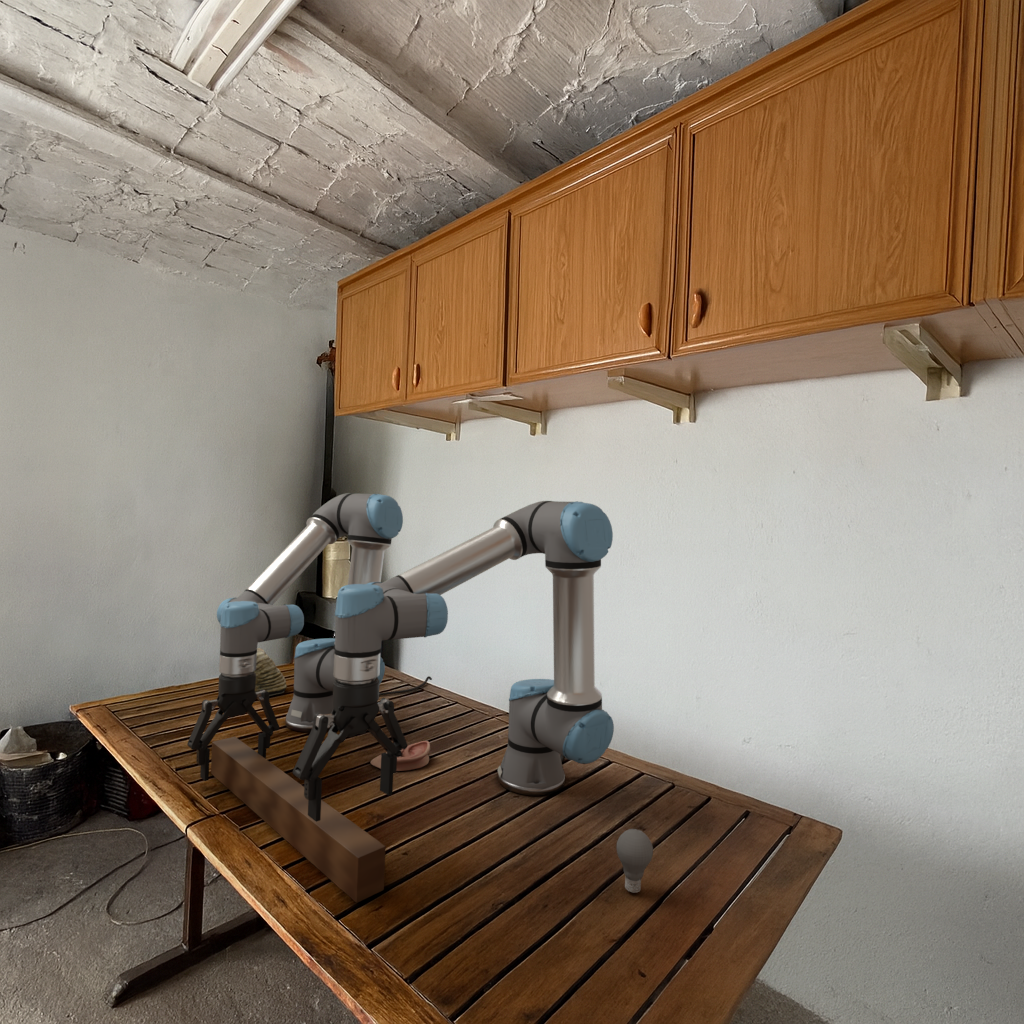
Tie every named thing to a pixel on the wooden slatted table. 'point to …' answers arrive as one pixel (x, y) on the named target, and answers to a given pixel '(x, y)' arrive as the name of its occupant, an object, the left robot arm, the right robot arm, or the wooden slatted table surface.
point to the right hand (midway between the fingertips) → (351, 804)
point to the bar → (302, 819)
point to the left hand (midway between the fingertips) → (233, 770)
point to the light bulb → (634, 857)
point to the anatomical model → (409, 757)
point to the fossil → (268, 675)
